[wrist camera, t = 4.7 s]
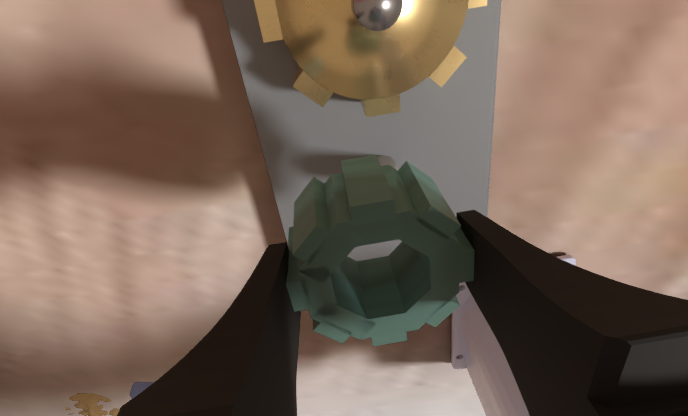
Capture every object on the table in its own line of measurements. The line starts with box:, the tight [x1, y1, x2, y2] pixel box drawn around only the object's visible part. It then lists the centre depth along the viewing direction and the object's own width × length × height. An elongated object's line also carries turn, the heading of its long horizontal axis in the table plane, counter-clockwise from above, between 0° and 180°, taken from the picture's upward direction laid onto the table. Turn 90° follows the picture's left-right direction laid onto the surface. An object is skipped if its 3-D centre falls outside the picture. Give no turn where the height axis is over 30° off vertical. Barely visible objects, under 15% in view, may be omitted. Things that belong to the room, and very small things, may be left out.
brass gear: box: [254, 0, 487, 117], centre depth 14 cm, size 8×8×3 cm
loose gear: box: [286, 155, 475, 346], centre depth 13 cm, size 6×6×3 cm
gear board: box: [222, 0, 501, 261], centre depth 17 cm, size 18×11×5 cm, turn 8°
